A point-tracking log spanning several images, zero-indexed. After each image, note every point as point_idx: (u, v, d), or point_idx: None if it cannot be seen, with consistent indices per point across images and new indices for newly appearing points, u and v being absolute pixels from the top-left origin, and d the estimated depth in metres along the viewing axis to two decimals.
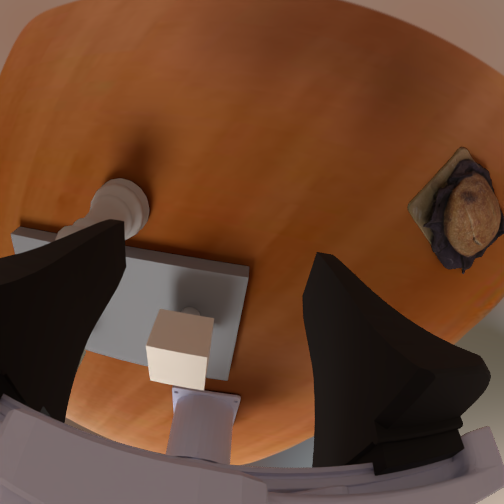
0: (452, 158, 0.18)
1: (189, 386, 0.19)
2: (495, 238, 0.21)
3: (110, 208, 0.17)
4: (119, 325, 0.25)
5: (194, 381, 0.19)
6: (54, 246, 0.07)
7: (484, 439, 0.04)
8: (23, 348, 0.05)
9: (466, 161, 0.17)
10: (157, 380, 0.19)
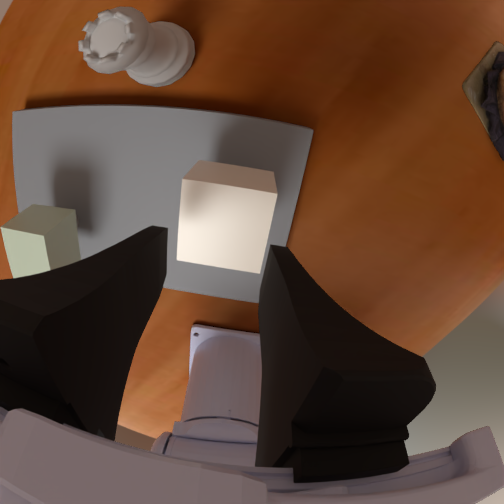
0: (491, 48, 0.12)
1: (238, 266, 0.14)
2: None
3: (156, 28, 0.11)
4: (131, 219, 0.19)
5: (248, 252, 0.14)
6: (105, 257, 0.07)
7: (484, 439, 0.04)
8: (85, 372, 0.05)
9: (503, 52, 0.12)
10: (188, 258, 0.14)
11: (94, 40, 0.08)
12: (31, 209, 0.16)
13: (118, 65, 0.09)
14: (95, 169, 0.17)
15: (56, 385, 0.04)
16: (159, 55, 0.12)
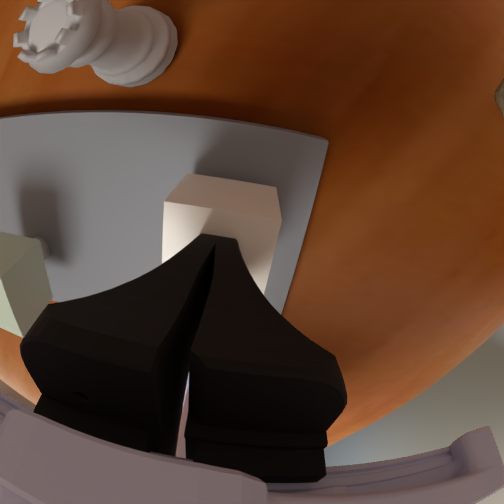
0: None
1: None
2: None
3: (125, 11, 0.08)
4: (106, 248, 0.16)
5: None
6: (172, 269, 0.07)
7: (484, 439, 0.04)
8: (170, 394, 0.05)
9: None
10: None
11: (32, 31, 0.05)
12: None
13: (61, 61, 0.06)
14: (62, 190, 0.14)
15: (157, 416, 0.04)
16: (127, 45, 0.08)
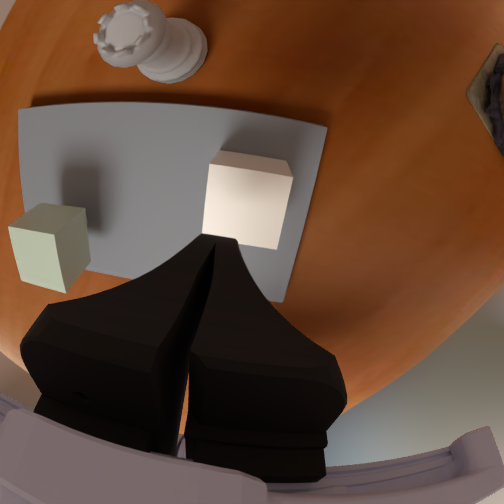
0: (492, 51, 0.12)
1: (257, 242, 0.16)
2: None
3: (170, 23, 0.11)
4: (142, 217, 0.19)
5: (266, 230, 0.15)
6: (172, 269, 0.07)
7: (484, 439, 0.04)
8: (170, 395, 0.05)
9: None
10: None
11: (109, 33, 0.08)
12: (40, 208, 0.16)
13: (135, 59, 0.09)
14: (105, 167, 0.17)
15: (158, 416, 0.04)
16: (174, 50, 0.12)
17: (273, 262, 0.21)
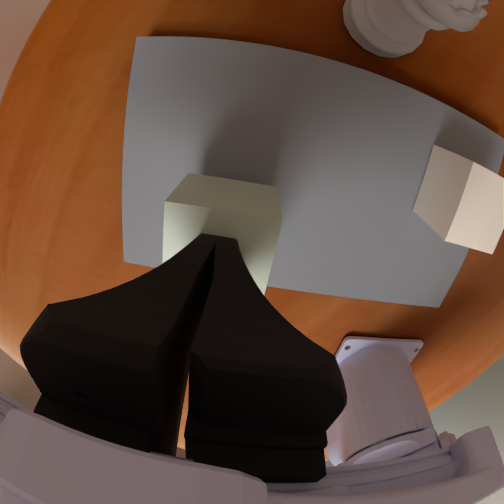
0: None
1: (483, 247, 0.12)
2: None
3: None
4: (332, 211, 0.15)
5: (492, 235, 0.11)
6: (172, 269, 0.07)
7: (484, 439, 0.04)
8: (170, 394, 0.05)
9: None
10: (454, 239, 0.12)
11: None
12: (198, 179, 0.12)
13: (463, 25, 0.05)
14: (294, 138, 0.13)
15: (157, 416, 0.04)
16: None
17: (446, 266, 0.17)
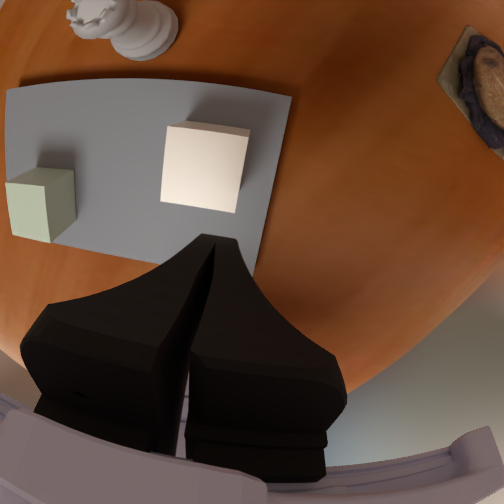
0: (463, 34, 0.13)
1: (215, 205, 0.15)
2: None
3: (141, 3, 0.11)
4: (113, 189, 0.19)
5: (223, 192, 0.15)
6: (172, 269, 0.07)
7: (484, 439, 0.04)
8: (170, 394, 0.05)
9: (476, 36, 0.12)
10: (170, 199, 0.15)
11: (80, 9, 0.08)
12: (34, 170, 0.17)
13: (100, 30, 0.09)
14: (80, 141, 0.17)
15: (158, 416, 0.04)
16: (142, 26, 0.11)
17: (240, 235, 0.20)
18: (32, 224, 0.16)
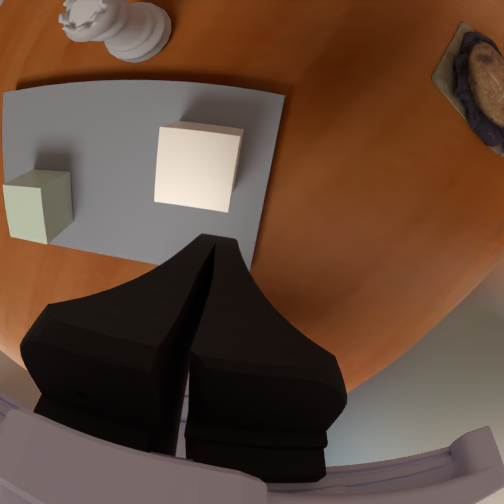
0: (456, 31, 0.13)
1: (208, 205, 0.15)
2: None
3: (133, 5, 0.11)
4: (109, 190, 0.19)
5: (216, 192, 0.15)
6: (171, 269, 0.07)
7: (484, 439, 0.04)
8: (170, 394, 0.05)
9: (470, 32, 0.12)
10: (164, 199, 0.15)
11: (72, 13, 0.08)
12: (31, 172, 0.17)
13: (92, 33, 0.09)
14: (76, 142, 0.17)
15: (157, 416, 0.04)
16: (134, 28, 0.11)
17: (235, 235, 0.20)
18: (29, 226, 0.16)
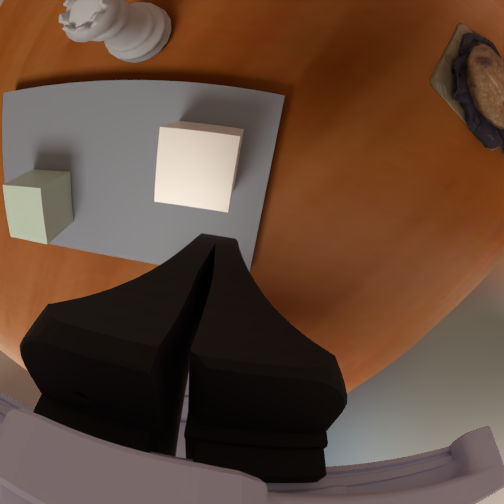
0: (455, 32, 0.13)
1: (208, 205, 0.15)
2: None
3: (133, 5, 0.11)
4: (109, 190, 0.19)
5: (216, 192, 0.15)
6: (171, 269, 0.07)
7: (484, 439, 0.04)
8: (170, 394, 0.05)
9: (468, 34, 0.12)
10: (164, 199, 0.15)
11: (72, 13, 0.08)
12: (31, 172, 0.17)
13: (92, 33, 0.09)
14: (76, 142, 0.17)
15: (157, 416, 0.04)
16: (134, 28, 0.11)
17: (235, 235, 0.20)
18: (29, 226, 0.16)
